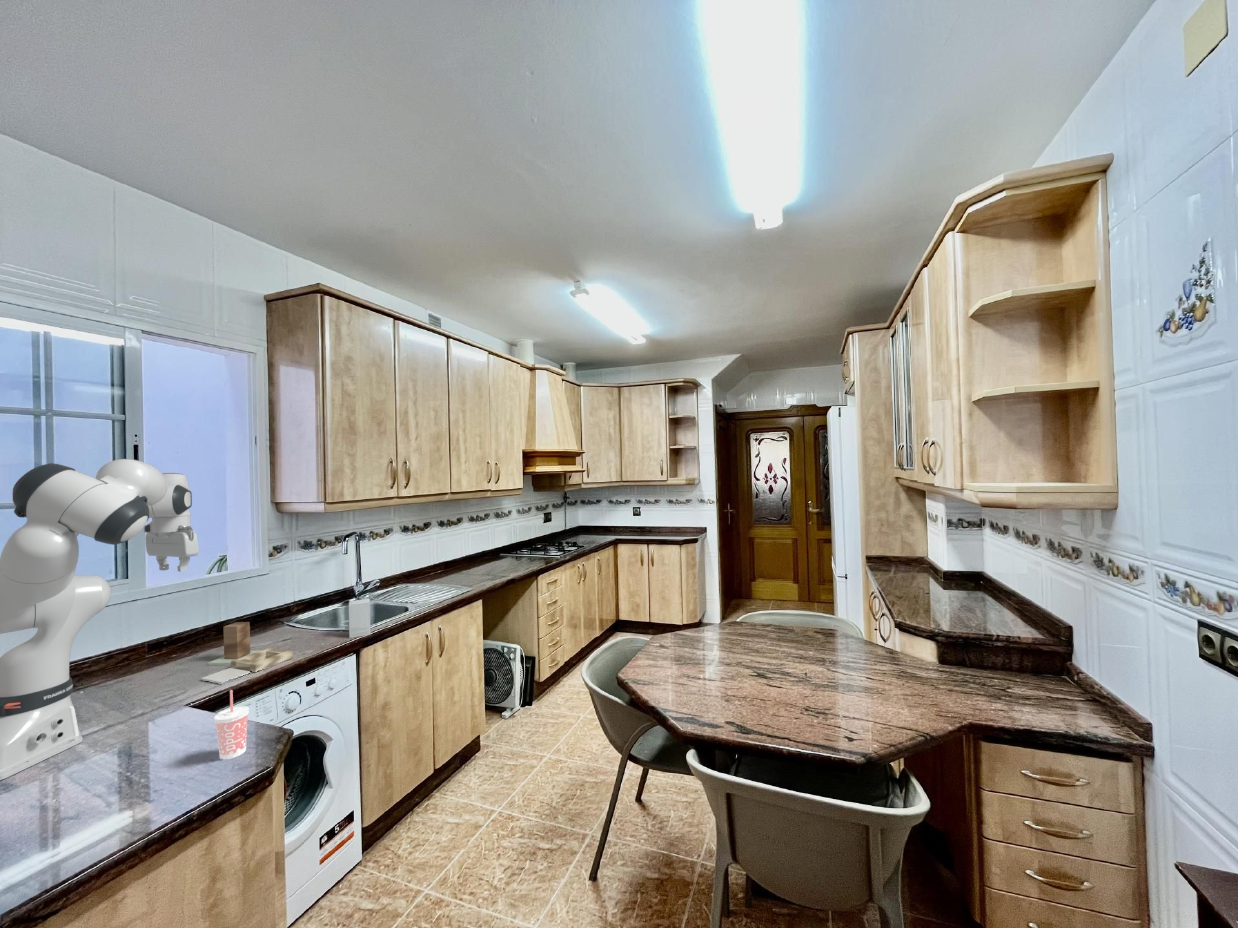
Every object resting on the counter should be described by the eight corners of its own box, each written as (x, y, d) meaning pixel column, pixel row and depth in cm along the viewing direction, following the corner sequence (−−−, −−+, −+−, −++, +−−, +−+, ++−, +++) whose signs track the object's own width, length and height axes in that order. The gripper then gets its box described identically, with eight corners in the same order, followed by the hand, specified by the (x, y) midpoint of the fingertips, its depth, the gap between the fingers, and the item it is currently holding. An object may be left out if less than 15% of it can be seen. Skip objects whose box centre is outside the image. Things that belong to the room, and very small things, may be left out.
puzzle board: (223, 685, 145) (223, 676, 145) (198, 680, 149) (198, 672, 149) (293, 658, 165) (292, 651, 165) (269, 655, 169) (269, 647, 169)
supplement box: (370, 634, 187) (369, 601, 187) (348, 638, 184) (347, 605, 184) (370, 629, 194) (369, 597, 194) (349, 633, 190) (348, 600, 190)
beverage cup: (209, 763, 104) (207, 698, 104) (223, 748, 110) (221, 686, 110) (242, 758, 106) (240, 693, 106) (255, 743, 112) (253, 682, 112)
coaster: (237, 665, 161) (237, 662, 161) (207, 665, 162) (207, 662, 162) (265, 652, 172) (265, 650, 172) (237, 652, 173) (237, 650, 173)
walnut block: (237, 659, 164) (236, 626, 164) (224, 659, 165) (223, 626, 165) (250, 653, 169) (249, 621, 169) (237, 653, 170) (236, 622, 170)
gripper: (204, 524, 149) (206, 569, 149) (165, 524, 156) (166, 567, 156) (180, 527, 143) (181, 574, 143) (140, 526, 150) (141, 571, 150)
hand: (173, 570), depth 150 cm, fingers open, 8 cm apart
